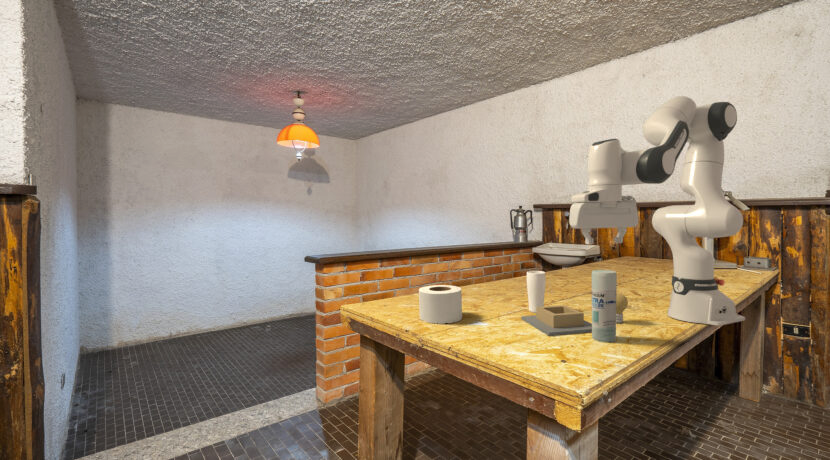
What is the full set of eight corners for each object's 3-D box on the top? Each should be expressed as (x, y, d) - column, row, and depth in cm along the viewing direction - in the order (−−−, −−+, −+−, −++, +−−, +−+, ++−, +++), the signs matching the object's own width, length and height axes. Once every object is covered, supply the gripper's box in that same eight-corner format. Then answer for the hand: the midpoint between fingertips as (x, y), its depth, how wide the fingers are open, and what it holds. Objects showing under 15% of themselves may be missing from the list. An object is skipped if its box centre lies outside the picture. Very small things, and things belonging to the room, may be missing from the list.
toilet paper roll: (410, 318, 133) (410, 288, 133) (440, 309, 143) (439, 282, 143) (441, 327, 122) (440, 295, 121) (470, 317, 132) (470, 288, 132)
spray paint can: (586, 336, 110) (586, 270, 109) (605, 334, 111) (606, 269, 110) (601, 343, 104) (601, 273, 103) (621, 341, 105) (622, 272, 104)
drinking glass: (549, 312, 137) (549, 272, 136) (536, 314, 134) (536, 274, 133) (535, 308, 143) (535, 270, 142) (522, 310, 140) (522, 271, 139)
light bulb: (631, 324, 120) (632, 294, 119) (612, 325, 120) (612, 295, 119) (620, 319, 126) (620, 290, 126) (602, 319, 126) (602, 291, 126)
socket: (567, 315, 132) (567, 301, 132) (601, 331, 114) (601, 315, 114) (521, 319, 129) (521, 305, 128) (549, 335, 111) (549, 319, 111)
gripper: (627, 196, 111) (627, 241, 111) (566, 196, 107) (566, 243, 108) (644, 195, 104) (643, 243, 105) (579, 195, 101) (579, 245, 101)
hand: (604, 243), depth 106 cm, fingers open, 8 cm apart
